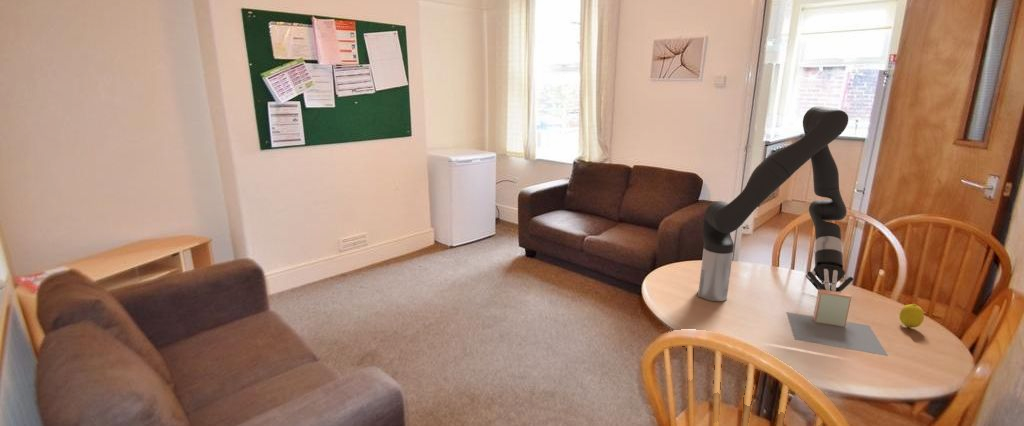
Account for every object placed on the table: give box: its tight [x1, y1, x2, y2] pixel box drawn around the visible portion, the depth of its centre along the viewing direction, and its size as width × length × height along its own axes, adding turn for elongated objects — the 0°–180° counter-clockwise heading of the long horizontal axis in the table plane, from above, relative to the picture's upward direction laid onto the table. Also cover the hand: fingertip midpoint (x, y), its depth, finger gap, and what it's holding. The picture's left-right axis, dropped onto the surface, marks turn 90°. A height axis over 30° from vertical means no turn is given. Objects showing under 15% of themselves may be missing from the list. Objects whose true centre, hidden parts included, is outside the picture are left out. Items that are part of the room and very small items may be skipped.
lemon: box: [899, 303, 925, 329], centre depth 142 cm, size 6×6×8 cm
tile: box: [813, 289, 852, 327], centre depth 144 cm, size 8×3×10 cm, turn 67°
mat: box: [786, 311, 889, 357], centre depth 140 cm, size 22×18×1 cm
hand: (829, 303), depth 146 cm, fingers closed
